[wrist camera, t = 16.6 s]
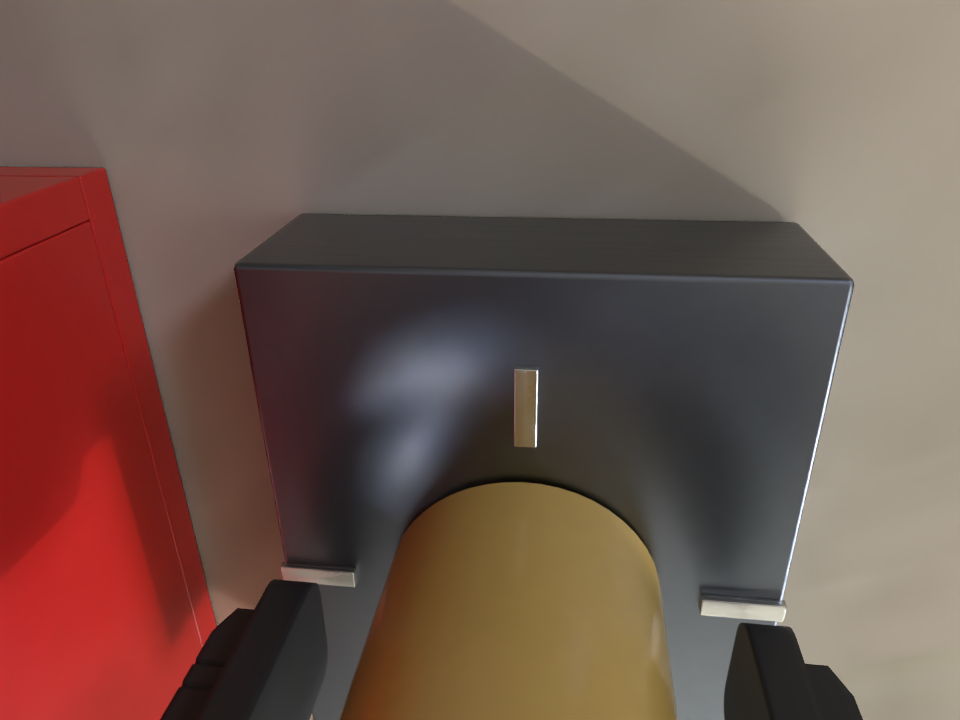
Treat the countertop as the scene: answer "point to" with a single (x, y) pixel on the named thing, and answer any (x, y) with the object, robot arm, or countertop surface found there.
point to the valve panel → (546, 399)
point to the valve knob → (516, 615)
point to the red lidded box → (85, 470)
